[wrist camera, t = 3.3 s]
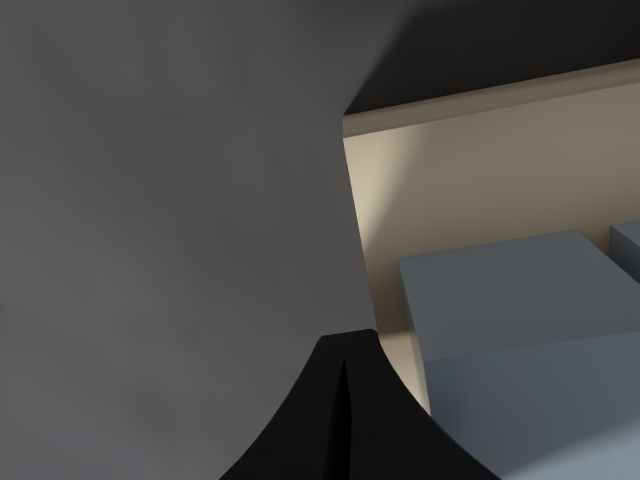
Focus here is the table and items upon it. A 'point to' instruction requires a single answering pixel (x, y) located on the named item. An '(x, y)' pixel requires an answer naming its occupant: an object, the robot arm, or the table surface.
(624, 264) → the block
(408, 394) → the robot arm
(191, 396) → the table surface
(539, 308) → the blue-grey cube
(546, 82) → the beige piece
